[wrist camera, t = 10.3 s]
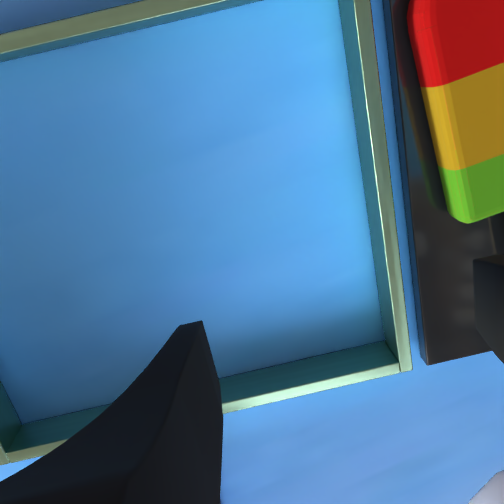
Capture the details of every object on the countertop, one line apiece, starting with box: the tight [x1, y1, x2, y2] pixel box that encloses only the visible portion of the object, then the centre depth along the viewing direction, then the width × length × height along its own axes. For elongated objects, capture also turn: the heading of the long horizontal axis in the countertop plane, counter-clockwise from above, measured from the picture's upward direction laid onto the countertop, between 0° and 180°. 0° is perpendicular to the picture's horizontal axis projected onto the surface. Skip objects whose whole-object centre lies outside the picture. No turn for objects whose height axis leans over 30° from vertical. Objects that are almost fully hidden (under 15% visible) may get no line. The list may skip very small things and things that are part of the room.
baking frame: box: [0, 0, 413, 465], centre depth 20 cm, size 17×20×2 cm
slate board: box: [383, 0, 504, 365], centre depth 20 cm, size 19×8×1 cm, turn 12°
